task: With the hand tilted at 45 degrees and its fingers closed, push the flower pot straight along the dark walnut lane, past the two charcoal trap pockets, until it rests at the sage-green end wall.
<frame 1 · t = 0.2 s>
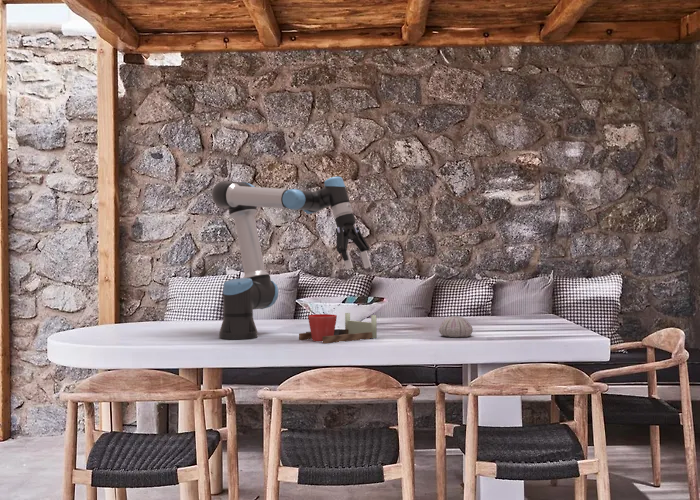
hand: (359, 268, 302), 27 cm above the table, tool tilted 20°, fingers open, 13 cm apart
flower pot: (322, 341, 303), on the table
sea urchin shell: (455, 337, 312), on the table
walnut trap lane: (336, 339, 306), on the table
sage end wall: (360, 336, 314), on the table
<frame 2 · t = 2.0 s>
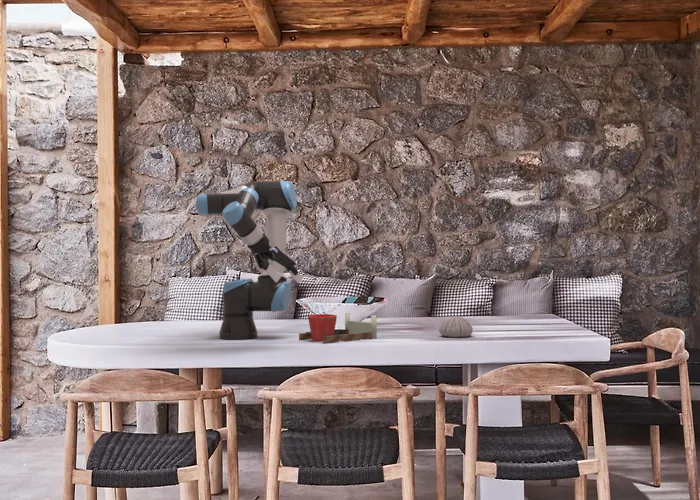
hand: (289, 280, 293), 24 cm above the table, tool tilted 45°, fingers open, 13 cm apart
nothing on the table moved.
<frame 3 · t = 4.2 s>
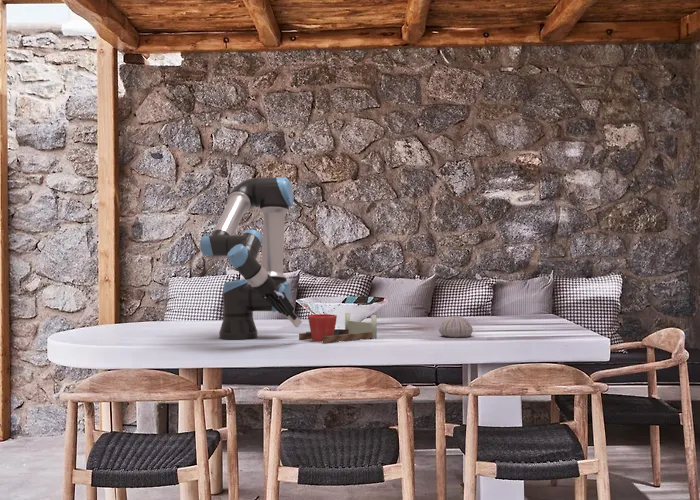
hand: (298, 324, 295), 7 cm above the table, tool tilted 45°, fingers closed
nothing on the table moved.
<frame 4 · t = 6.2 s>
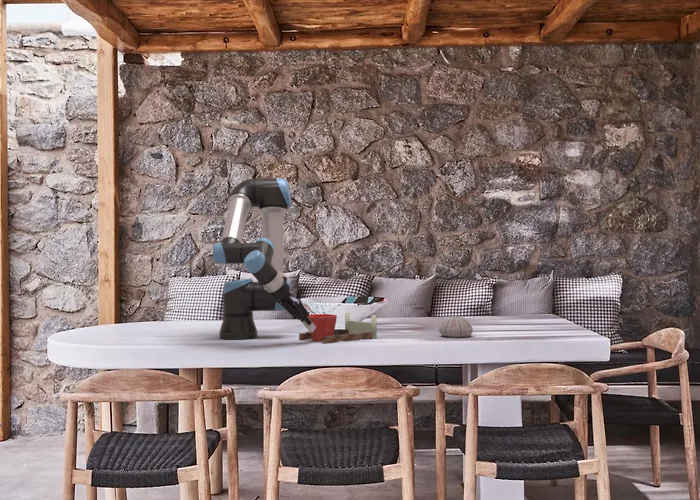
hand: (313, 329, 298), 5 cm above the table, tool tilted 45°, fingers closed
flower pot: (322, 341, 303), on the table, touching gripper
everything else where it was.
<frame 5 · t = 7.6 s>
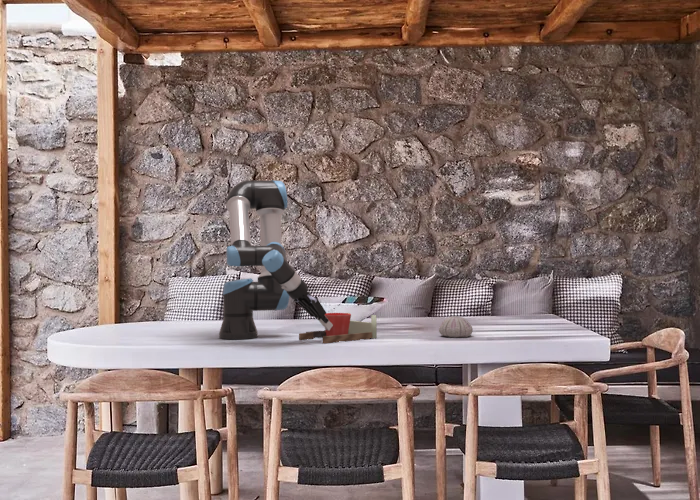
hand: (330, 327, 303), 5 cm above the table, tool tilted 45°, fingers closed
flower pot: (337, 339, 308), on the table, touching gripper
everything else where it was.
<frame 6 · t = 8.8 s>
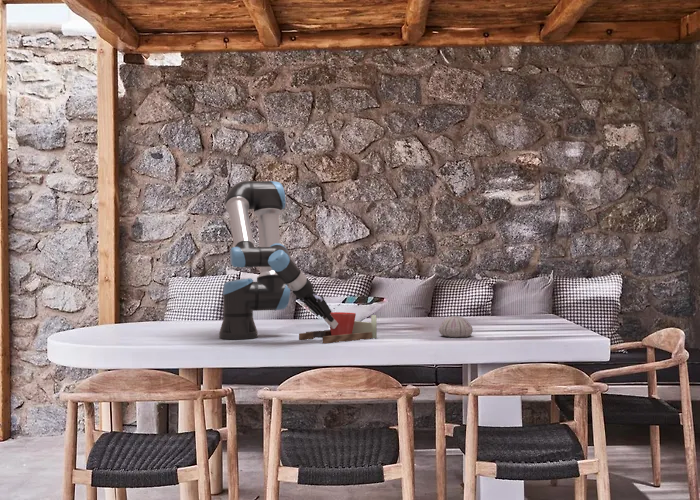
hand: (335, 326, 306), 5 cm above the table, tool tilted 45°, fingers closed
flower pot: (341, 338, 311), on the table, touching gripper
everything else where it was.
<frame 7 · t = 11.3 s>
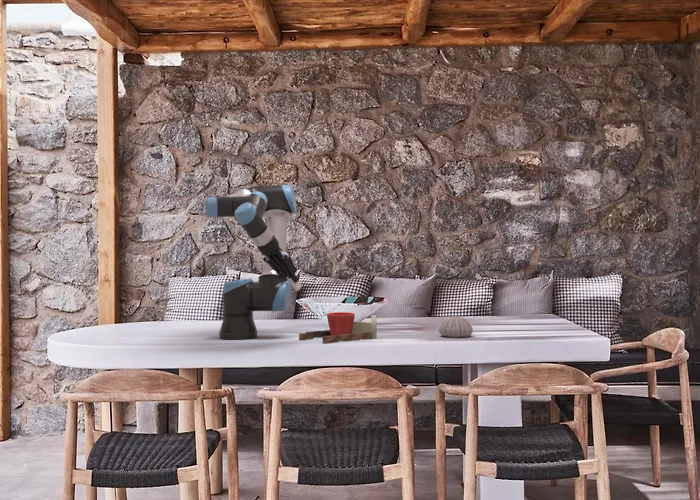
hand: (298, 288, 297), 20 cm above the table, tool tilted 40°, fingers closed
flower pot: (341, 338, 311), on the table
everything else where it was.
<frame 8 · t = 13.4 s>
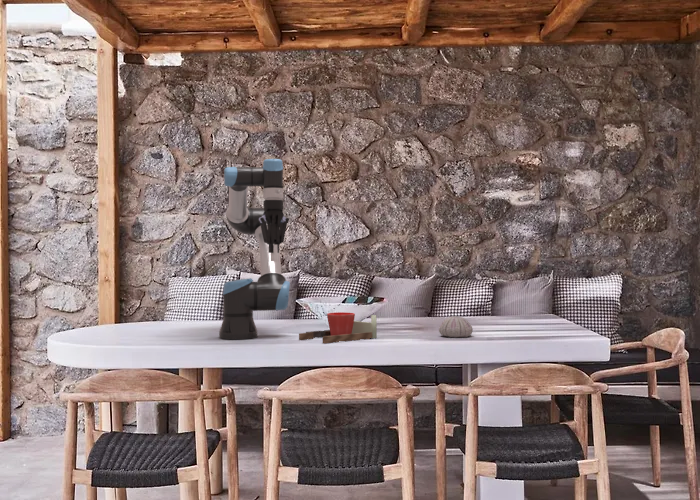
hand: (274, 261, 301), 30 cm above the table, tool pointing down, fingers closed
nothing on the table moved.
at the end: flower pot 8.3 cm from the sage end wall (horizontally); flower pot tilted 0°; flower pot moved 10.8 cm from its start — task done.
